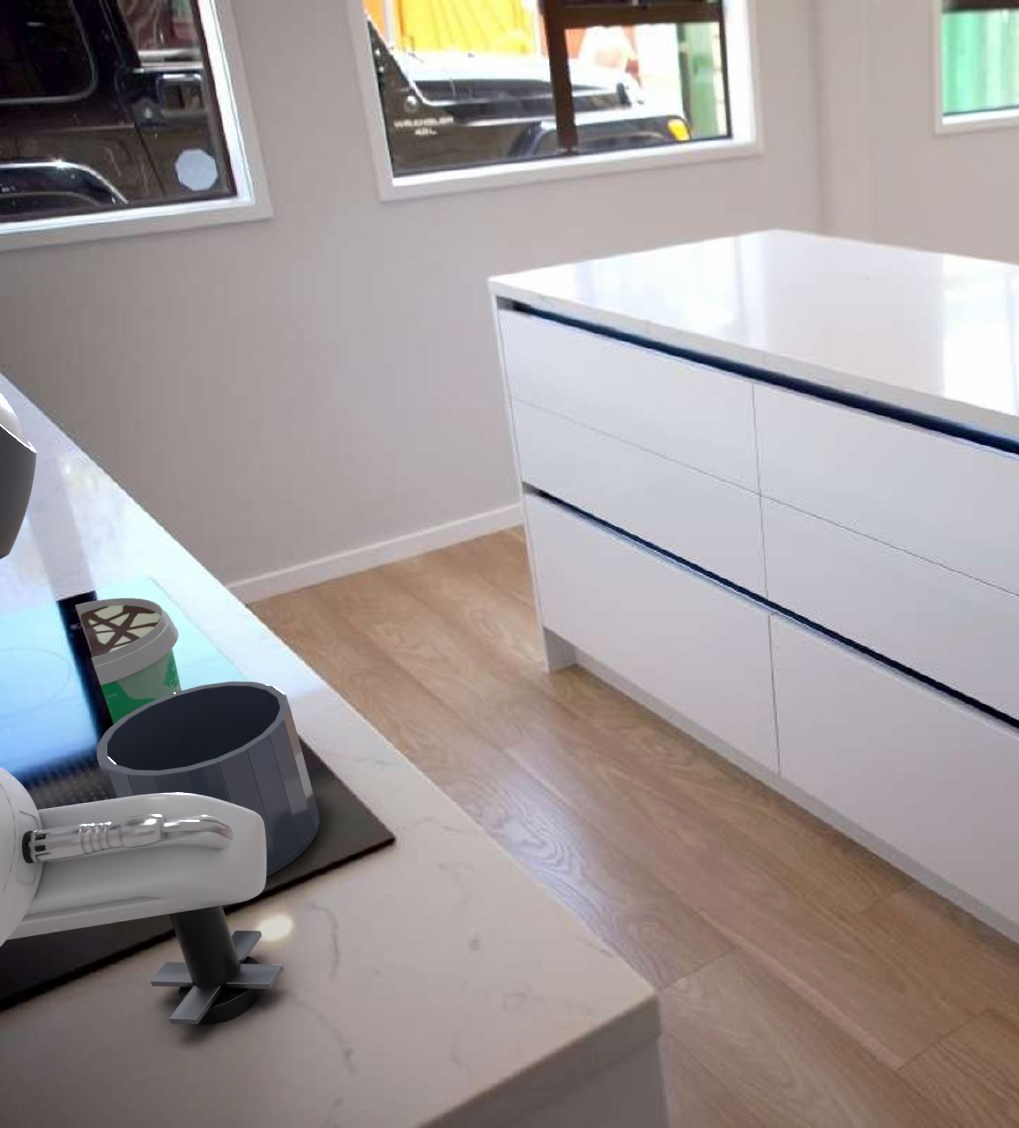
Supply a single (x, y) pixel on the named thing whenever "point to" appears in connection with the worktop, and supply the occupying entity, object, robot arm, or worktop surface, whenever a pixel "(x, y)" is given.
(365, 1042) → the worktop surface
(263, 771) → the processor bowl
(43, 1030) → the worktop surface
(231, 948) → the blade unit
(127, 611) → the food container
